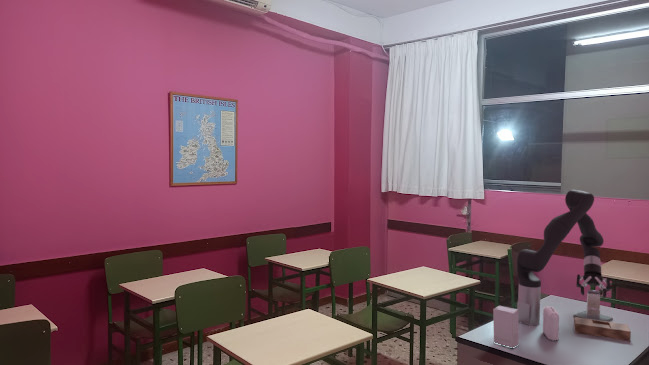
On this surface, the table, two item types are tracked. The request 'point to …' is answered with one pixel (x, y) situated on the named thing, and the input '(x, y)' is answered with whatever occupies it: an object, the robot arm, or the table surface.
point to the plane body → (602, 328)
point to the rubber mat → (602, 318)
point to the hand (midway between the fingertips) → (593, 295)
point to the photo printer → (551, 323)
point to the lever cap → (593, 304)
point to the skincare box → (506, 326)
